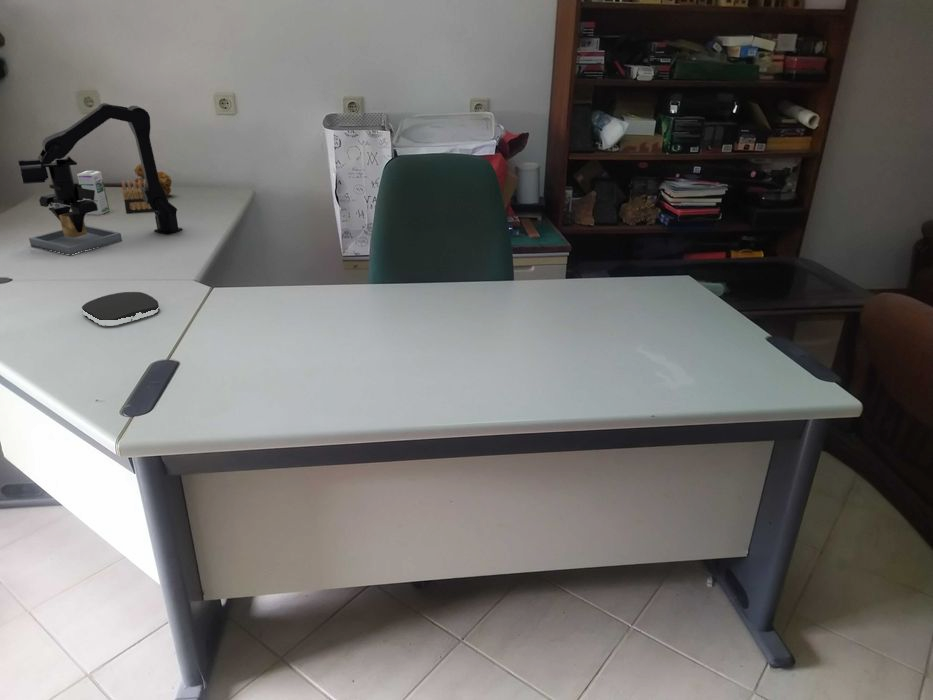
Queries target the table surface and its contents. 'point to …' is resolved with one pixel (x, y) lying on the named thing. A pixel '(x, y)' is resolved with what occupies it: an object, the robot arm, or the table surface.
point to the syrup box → (95, 182)
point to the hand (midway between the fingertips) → (74, 231)
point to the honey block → (70, 227)
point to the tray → (75, 240)
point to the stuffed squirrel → (162, 176)
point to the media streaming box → (120, 305)
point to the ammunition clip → (135, 198)
